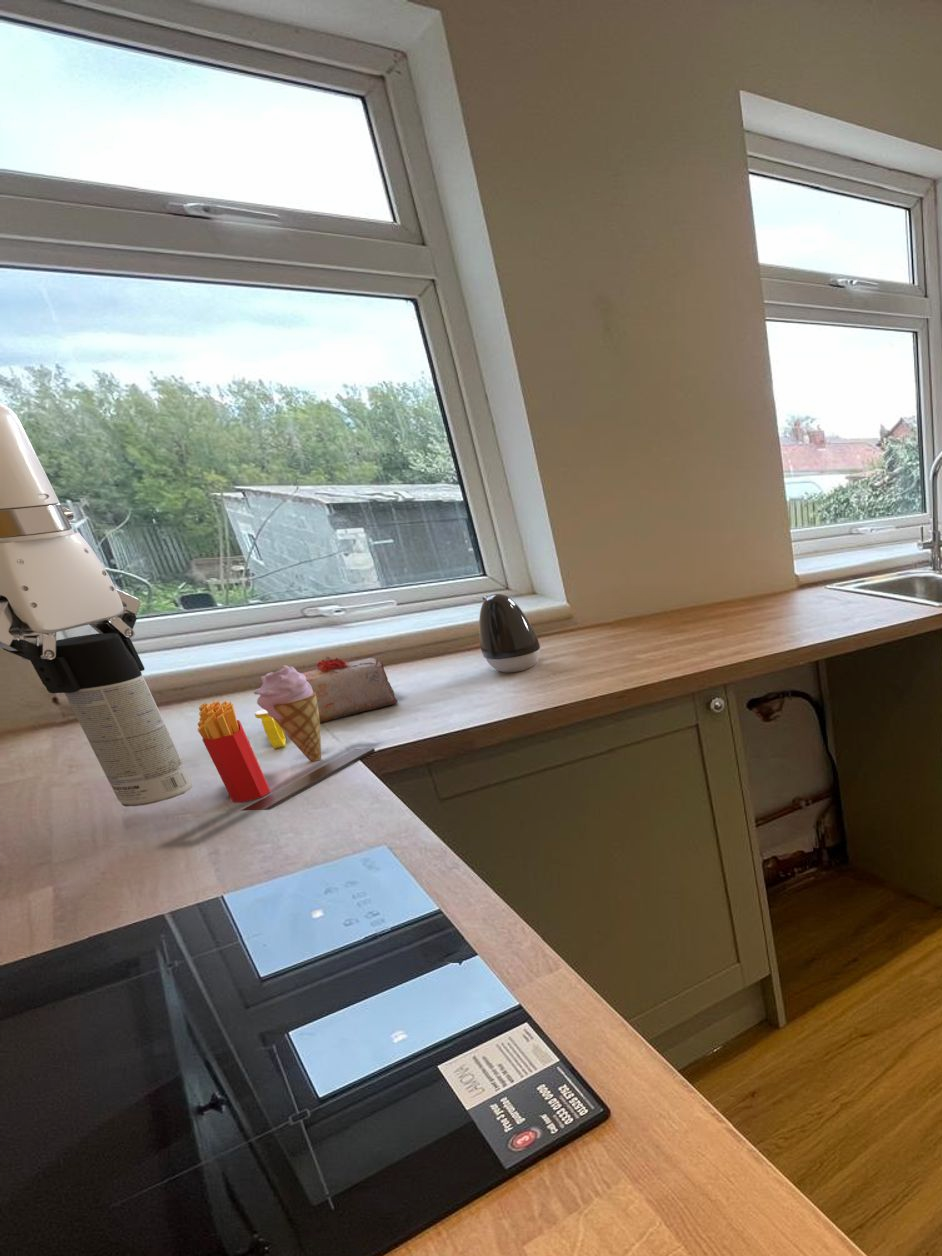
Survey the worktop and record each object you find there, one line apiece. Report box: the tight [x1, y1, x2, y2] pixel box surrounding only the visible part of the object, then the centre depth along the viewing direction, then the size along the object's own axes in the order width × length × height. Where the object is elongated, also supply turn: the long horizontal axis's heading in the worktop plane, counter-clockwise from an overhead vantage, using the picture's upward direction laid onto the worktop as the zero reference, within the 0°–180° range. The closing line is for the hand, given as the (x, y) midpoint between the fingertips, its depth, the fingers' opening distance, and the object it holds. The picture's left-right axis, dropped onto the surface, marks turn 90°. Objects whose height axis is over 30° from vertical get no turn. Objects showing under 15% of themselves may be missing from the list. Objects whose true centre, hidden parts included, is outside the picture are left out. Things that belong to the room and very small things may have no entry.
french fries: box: [197, 700, 271, 803], centre depth 110 cm, size 9×4×13 cm, turn 44°
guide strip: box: [240, 747, 376, 812], centre depth 112 cm, size 3×30×1 cm, turn 179°
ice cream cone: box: [253, 664, 322, 762], centre depth 120 cm, size 7×6×15 cm
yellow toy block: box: [254, 708, 287, 749], centre depth 129 cm, size 6×3×6 cm, turn 37°
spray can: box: [56, 633, 193, 807], centre depth 97 cm, size 7×7×20 cm
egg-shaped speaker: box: [478, 593, 541, 673], centre depth 161 cm, size 10×10×15 cm
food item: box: [300, 656, 399, 724], centre depth 142 cm, size 14×8×10 cm, turn 138°
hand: (98, 680), depth 95 cm, fingers closed on spray can, 6 cm apart
